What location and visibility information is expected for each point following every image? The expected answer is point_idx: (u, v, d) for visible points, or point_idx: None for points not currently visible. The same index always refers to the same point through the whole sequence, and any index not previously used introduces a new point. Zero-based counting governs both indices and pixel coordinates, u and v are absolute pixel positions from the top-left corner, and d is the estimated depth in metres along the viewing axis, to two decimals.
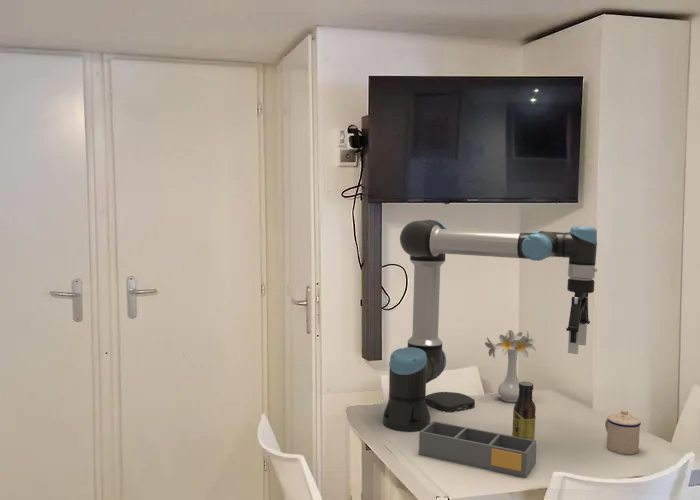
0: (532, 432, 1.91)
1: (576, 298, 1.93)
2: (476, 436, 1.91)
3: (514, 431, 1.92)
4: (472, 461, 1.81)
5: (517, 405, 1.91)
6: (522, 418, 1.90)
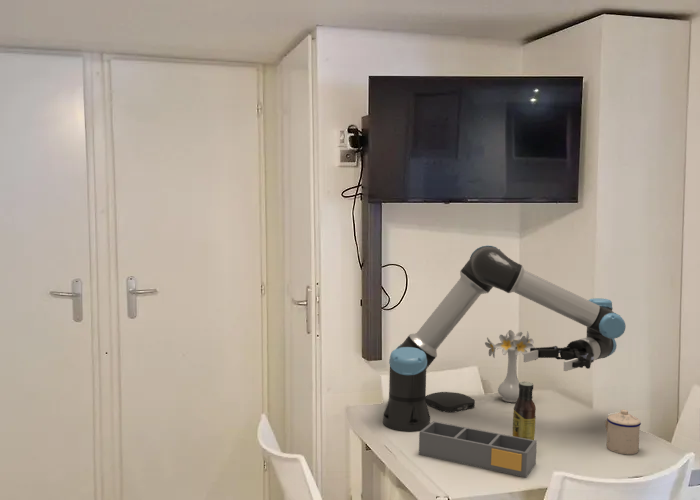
0: (532, 432, 1.91)
1: (593, 358, 2.03)
2: (476, 436, 1.91)
3: (514, 431, 1.92)
4: (472, 461, 1.81)
5: (517, 405, 1.91)
6: (522, 418, 1.90)
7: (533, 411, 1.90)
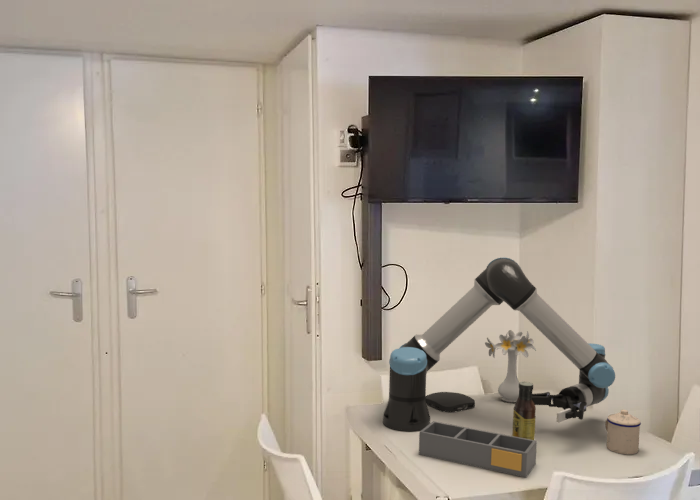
0: (532, 432, 1.91)
1: (586, 406, 2.02)
2: (476, 436, 1.91)
3: (514, 431, 1.92)
4: (472, 461, 1.81)
5: (517, 405, 1.91)
6: (522, 418, 1.90)
7: (533, 411, 1.90)
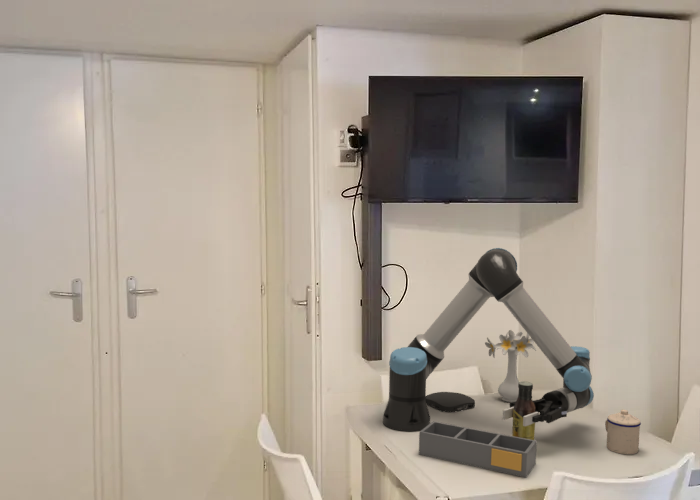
0: (532, 432, 1.91)
1: (566, 412, 1.95)
2: (476, 436, 1.91)
3: (514, 431, 1.92)
4: (472, 461, 1.81)
5: (517, 405, 1.91)
6: (521, 418, 1.90)
7: (533, 411, 1.90)
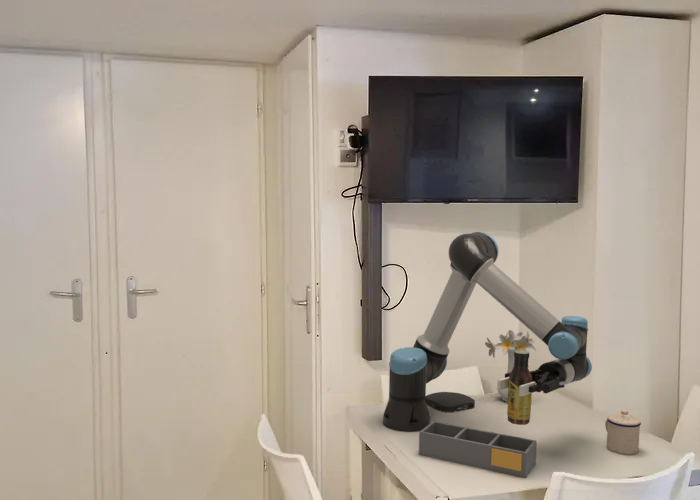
0: (528, 403, 1.81)
1: (564, 383, 1.85)
2: (476, 436, 1.91)
3: (509, 402, 1.82)
4: (472, 461, 1.81)
5: (512, 375, 1.81)
6: (517, 388, 1.80)
7: (529, 380, 1.80)
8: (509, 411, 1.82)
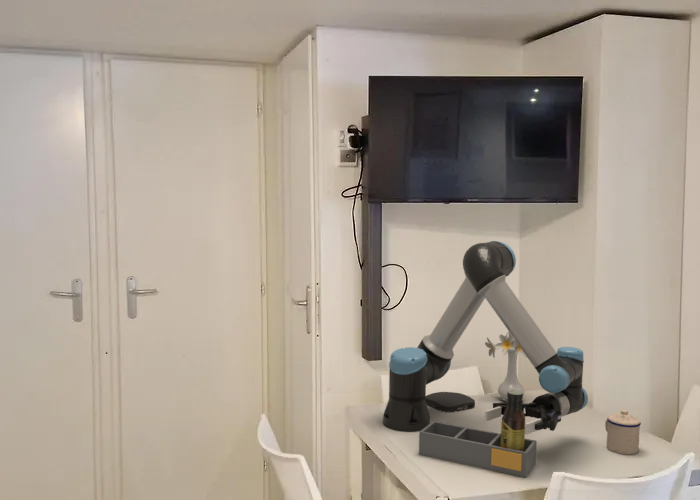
0: (521, 444, 1.79)
1: (560, 416, 1.84)
2: (476, 436, 1.91)
3: (502, 443, 1.80)
4: (472, 461, 1.81)
5: (505, 415, 1.79)
6: (510, 429, 1.78)
7: (522, 422, 1.78)
8: None
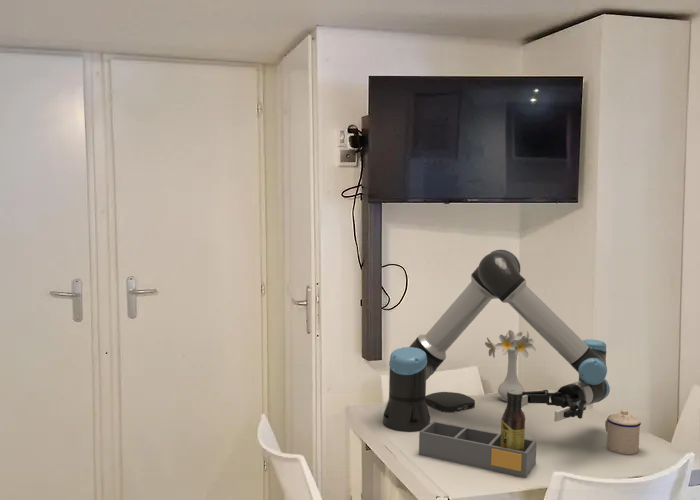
0: (521, 444, 1.79)
1: (586, 405, 1.93)
2: (476, 436, 1.91)
3: (502, 443, 1.80)
4: (472, 461, 1.81)
5: (505, 415, 1.79)
6: (510, 429, 1.78)
7: (522, 421, 1.78)
8: None
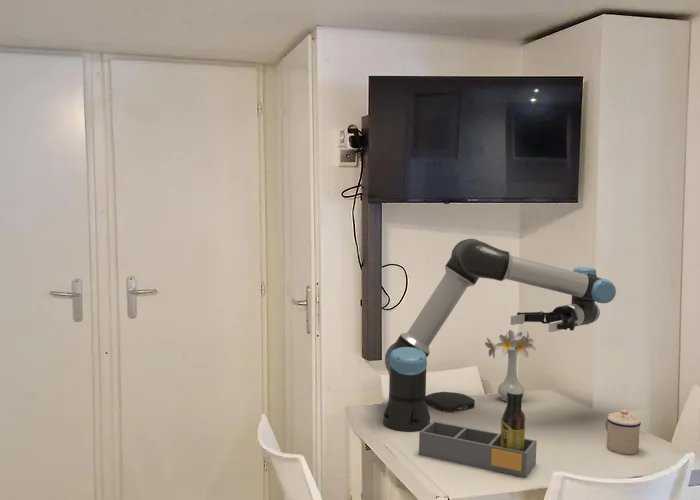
0: (521, 444, 1.79)
1: (577, 321, 2.12)
2: (476, 436, 1.91)
3: (502, 443, 1.80)
4: (472, 461, 1.81)
5: (505, 415, 1.79)
6: (510, 429, 1.78)
7: (522, 421, 1.78)
8: None
